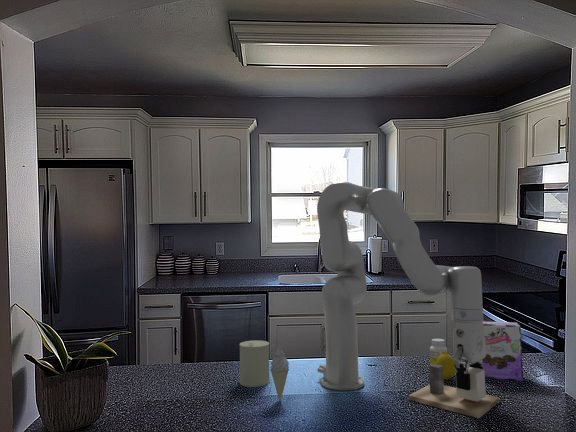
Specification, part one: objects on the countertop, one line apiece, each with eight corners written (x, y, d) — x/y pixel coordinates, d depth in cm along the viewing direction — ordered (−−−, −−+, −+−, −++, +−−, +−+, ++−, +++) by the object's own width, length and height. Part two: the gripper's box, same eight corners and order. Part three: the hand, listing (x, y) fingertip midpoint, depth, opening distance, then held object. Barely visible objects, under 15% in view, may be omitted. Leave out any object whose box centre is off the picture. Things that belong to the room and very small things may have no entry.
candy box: (473, 377, 131) (470, 323, 132) (471, 372, 137) (469, 320, 138) (524, 381, 127) (520, 325, 128) (520, 376, 132) (517, 321, 133)
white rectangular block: (456, 396, 109) (455, 370, 109) (465, 391, 112) (463, 365, 113) (477, 401, 105) (476, 374, 105) (485, 396, 109) (484, 369, 109)
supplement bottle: (446, 368, 142) (445, 338, 142) (450, 373, 136) (448, 341, 137) (429, 368, 142) (428, 337, 143) (432, 372, 137) (431, 341, 138)
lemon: (458, 383, 126) (457, 355, 127) (438, 382, 127) (437, 354, 128) (454, 377, 132) (453, 351, 132) (435, 376, 133) (434, 350, 133)
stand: (408, 400, 113) (407, 368, 114) (433, 387, 123) (432, 357, 124) (478, 418, 100) (477, 382, 101) (499, 402, 110) (497, 369, 111)
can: (234, 385, 127) (234, 344, 128) (246, 376, 136) (246, 338, 137) (263, 388, 124) (263, 346, 125) (274, 378, 133) (273, 339, 134)
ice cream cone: (273, 405, 111) (272, 345, 112) (268, 398, 116) (267, 341, 117) (291, 402, 112) (290, 344, 113) (286, 396, 117) (285, 340, 118)
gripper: (468, 320, 101) (471, 397, 100) (494, 312, 114) (497, 380, 113) (437, 317, 107) (440, 390, 105) (466, 309, 119) (469, 374, 118)
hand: (470, 384), depth 109 cm, fingers open, 7 cm apart
